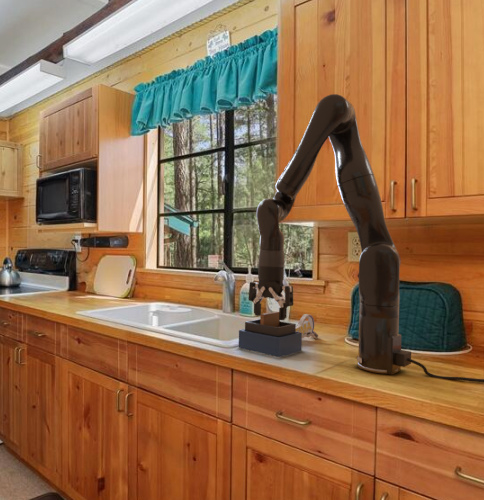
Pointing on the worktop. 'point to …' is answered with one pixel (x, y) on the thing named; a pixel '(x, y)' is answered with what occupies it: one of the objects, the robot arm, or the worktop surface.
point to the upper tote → (270, 326)
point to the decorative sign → (306, 326)
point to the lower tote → (270, 343)
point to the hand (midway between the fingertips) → (269, 317)
